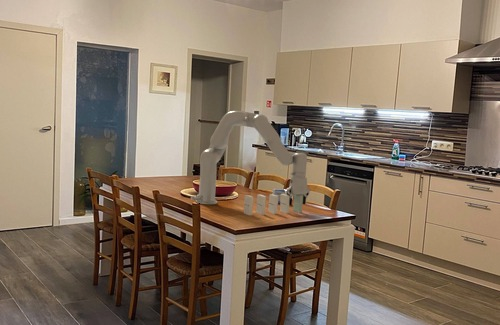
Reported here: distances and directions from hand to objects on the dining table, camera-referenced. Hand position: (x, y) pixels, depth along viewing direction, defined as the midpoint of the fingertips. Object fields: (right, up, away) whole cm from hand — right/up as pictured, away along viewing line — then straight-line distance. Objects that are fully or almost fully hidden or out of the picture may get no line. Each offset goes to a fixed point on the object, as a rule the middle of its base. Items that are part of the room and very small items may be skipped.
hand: (296, 204), depth 279 cm
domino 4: (-7, -4, -4) cm, 9 cm away
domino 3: (-14, -4, -8) cm, 17 cm away
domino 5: (0, -4, +1) cm, 4 cm away
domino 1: (-28, -4, -16) cm, 32 cm away
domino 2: (-21, -4, -12) cm, 24 cm away
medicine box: (-9, -1, +24) cm, 26 cm away
